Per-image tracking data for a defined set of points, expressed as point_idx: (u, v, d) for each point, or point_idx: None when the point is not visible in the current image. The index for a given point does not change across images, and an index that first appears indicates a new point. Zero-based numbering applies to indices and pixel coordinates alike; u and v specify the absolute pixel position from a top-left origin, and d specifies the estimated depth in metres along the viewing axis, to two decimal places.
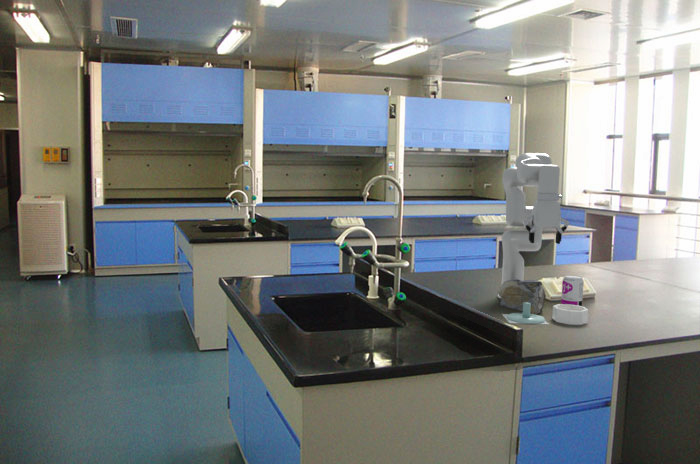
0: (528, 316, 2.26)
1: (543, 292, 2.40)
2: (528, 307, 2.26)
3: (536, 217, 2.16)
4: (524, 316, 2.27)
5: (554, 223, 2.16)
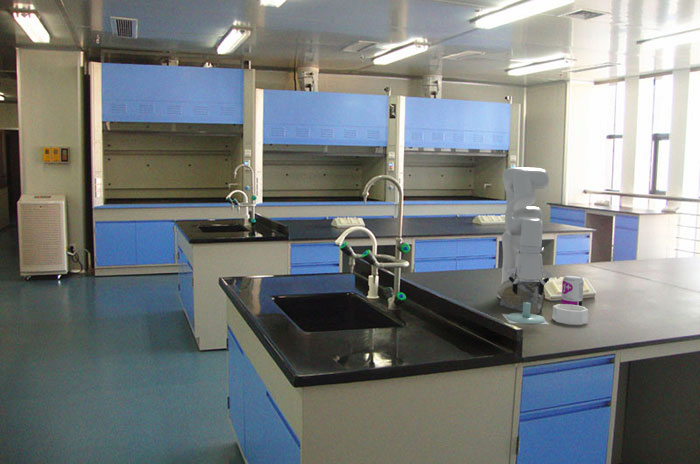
0: (528, 316, 2.26)
1: None
2: (528, 307, 2.26)
3: (519, 269, 2.23)
4: (524, 316, 2.27)
5: (536, 275, 2.23)
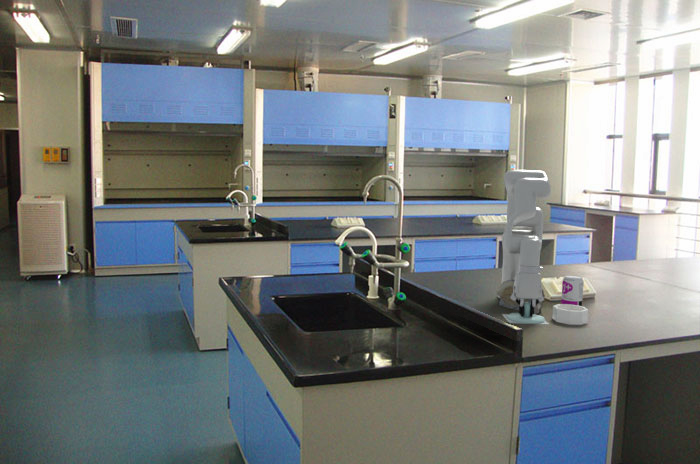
0: (528, 316, 2.26)
1: (542, 292, 2.39)
2: (528, 307, 2.26)
3: (518, 288, 2.24)
4: (524, 316, 2.27)
5: (535, 294, 2.24)
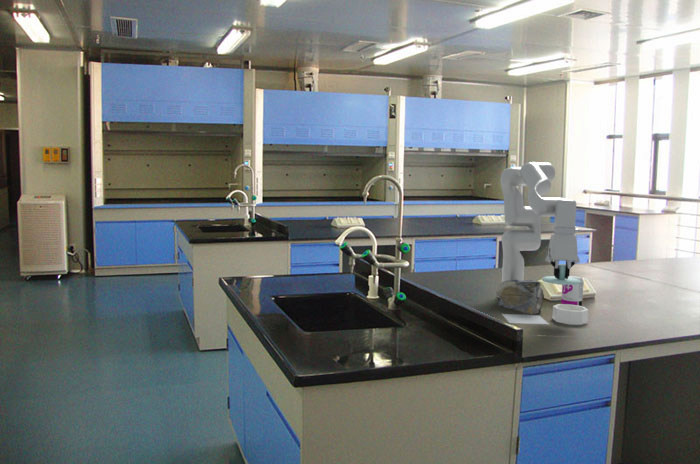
0: (563, 278, 2.24)
1: (541, 292, 2.39)
2: (563, 269, 2.24)
3: (553, 250, 2.23)
4: (559, 278, 2.25)
5: (571, 256, 2.22)
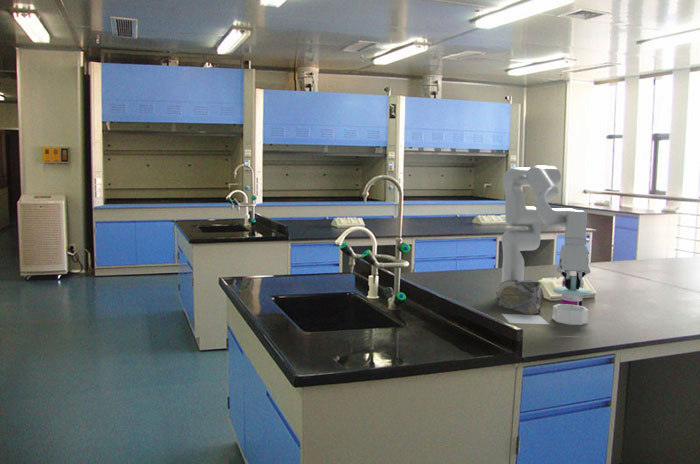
0: (574, 289, 2.24)
1: (541, 292, 2.39)
2: (574, 280, 2.24)
3: (564, 261, 2.23)
4: (570, 289, 2.25)
5: (582, 266, 2.23)
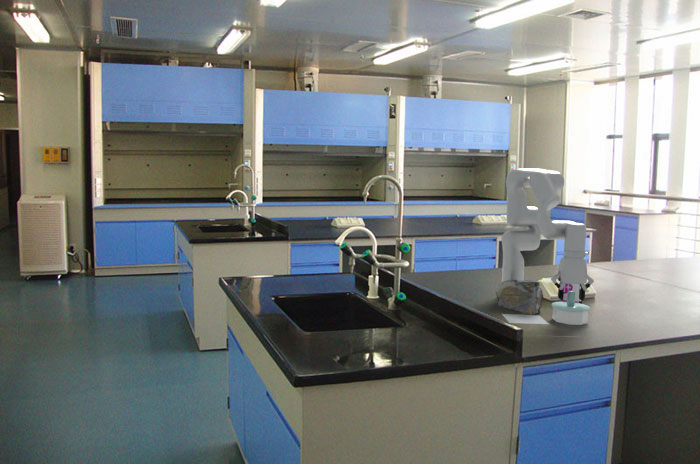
0: (573, 305, 2.25)
1: (541, 292, 2.39)
2: (573, 295, 2.25)
3: (563, 273, 2.23)
4: (569, 305, 2.26)
5: (581, 279, 2.23)
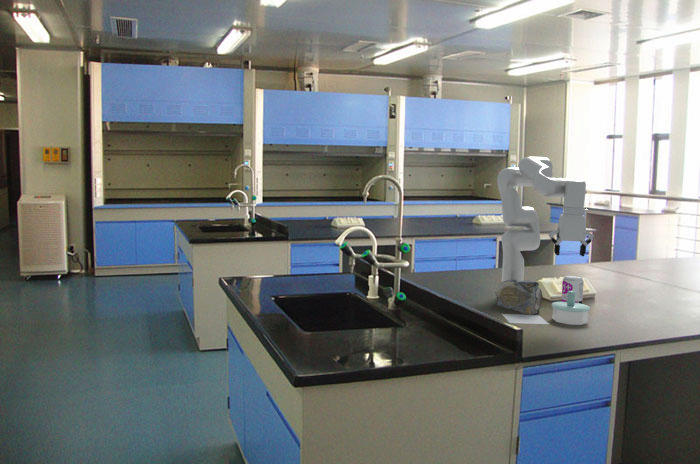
0: (573, 305, 2.25)
1: (540, 292, 2.39)
2: (573, 295, 2.25)
3: (562, 230, 2.24)
4: (569, 305, 2.26)
5: (579, 236, 2.24)
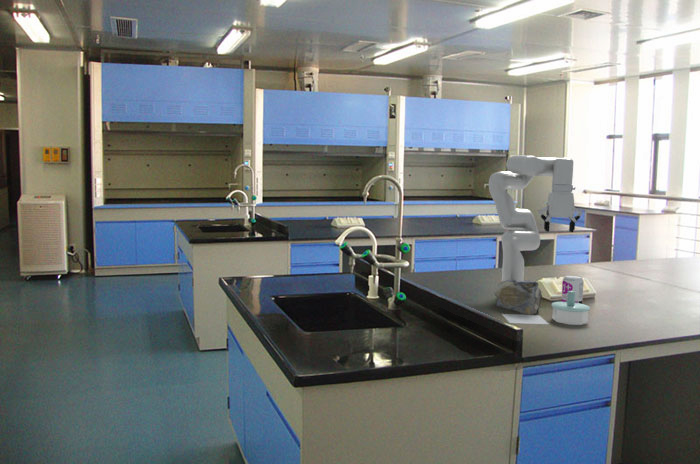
0: (573, 305, 2.25)
1: (539, 292, 2.39)
2: (573, 295, 2.25)
3: (551, 207, 2.31)
4: (569, 305, 2.26)
5: (568, 213, 2.31)
